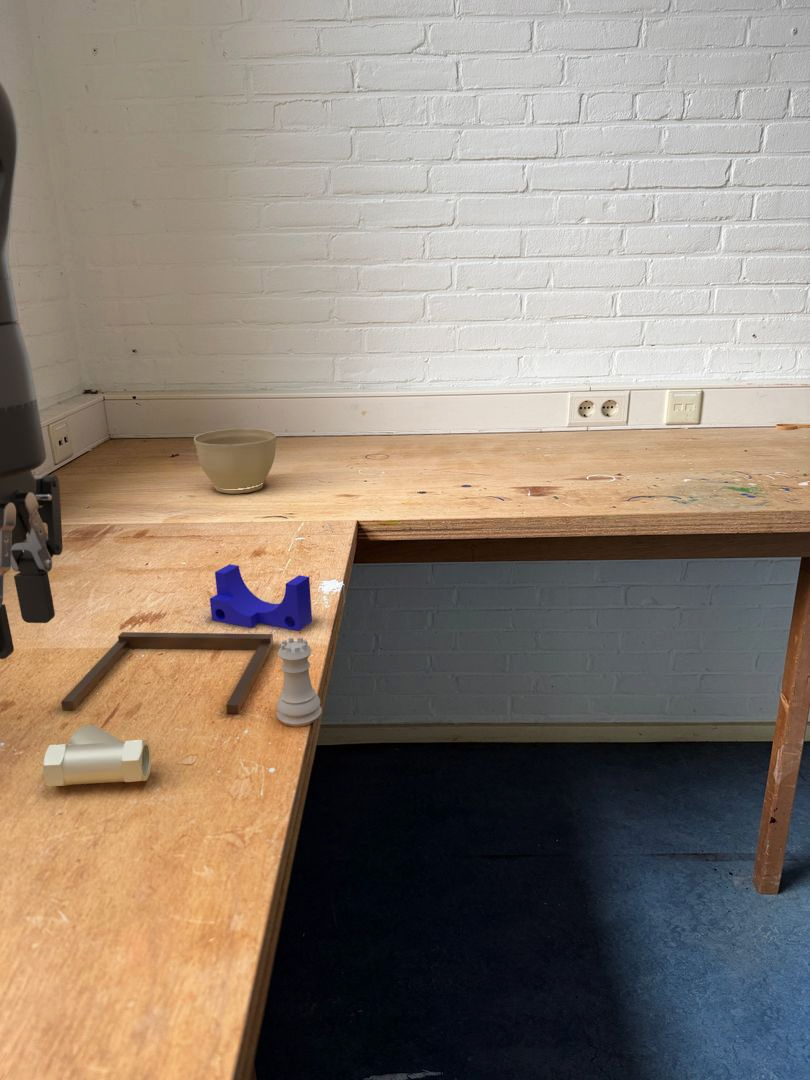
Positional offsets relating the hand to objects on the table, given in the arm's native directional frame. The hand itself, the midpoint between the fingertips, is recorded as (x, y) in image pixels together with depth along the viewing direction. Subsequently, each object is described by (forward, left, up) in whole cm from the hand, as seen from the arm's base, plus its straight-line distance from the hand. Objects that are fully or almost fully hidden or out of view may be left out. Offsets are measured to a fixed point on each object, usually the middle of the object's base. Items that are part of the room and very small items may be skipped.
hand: (18, 637), depth 57 cm
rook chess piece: (+15, +19, -18) cm, 30 cm away
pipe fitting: (0, +9, -18) cm, 20 cm away
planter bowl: (-14, +105, -18) cm, 107 cm away
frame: (0, +26, -17) cm, 31 cm away
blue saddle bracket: (+6, +41, -18) cm, 45 cm away
